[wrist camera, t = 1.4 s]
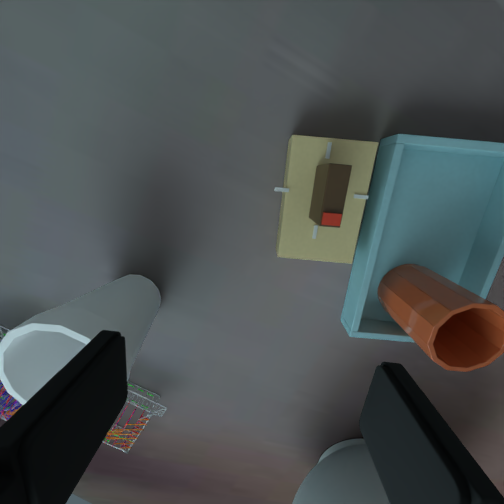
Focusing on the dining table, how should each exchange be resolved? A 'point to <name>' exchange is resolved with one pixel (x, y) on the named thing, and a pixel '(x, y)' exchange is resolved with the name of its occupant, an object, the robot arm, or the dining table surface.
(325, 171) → the brown switch lever
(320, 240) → the switch panel
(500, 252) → the blue tray
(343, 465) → the decorative bowl
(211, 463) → the dining table surface
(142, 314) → the foam cup
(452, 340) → the cup
